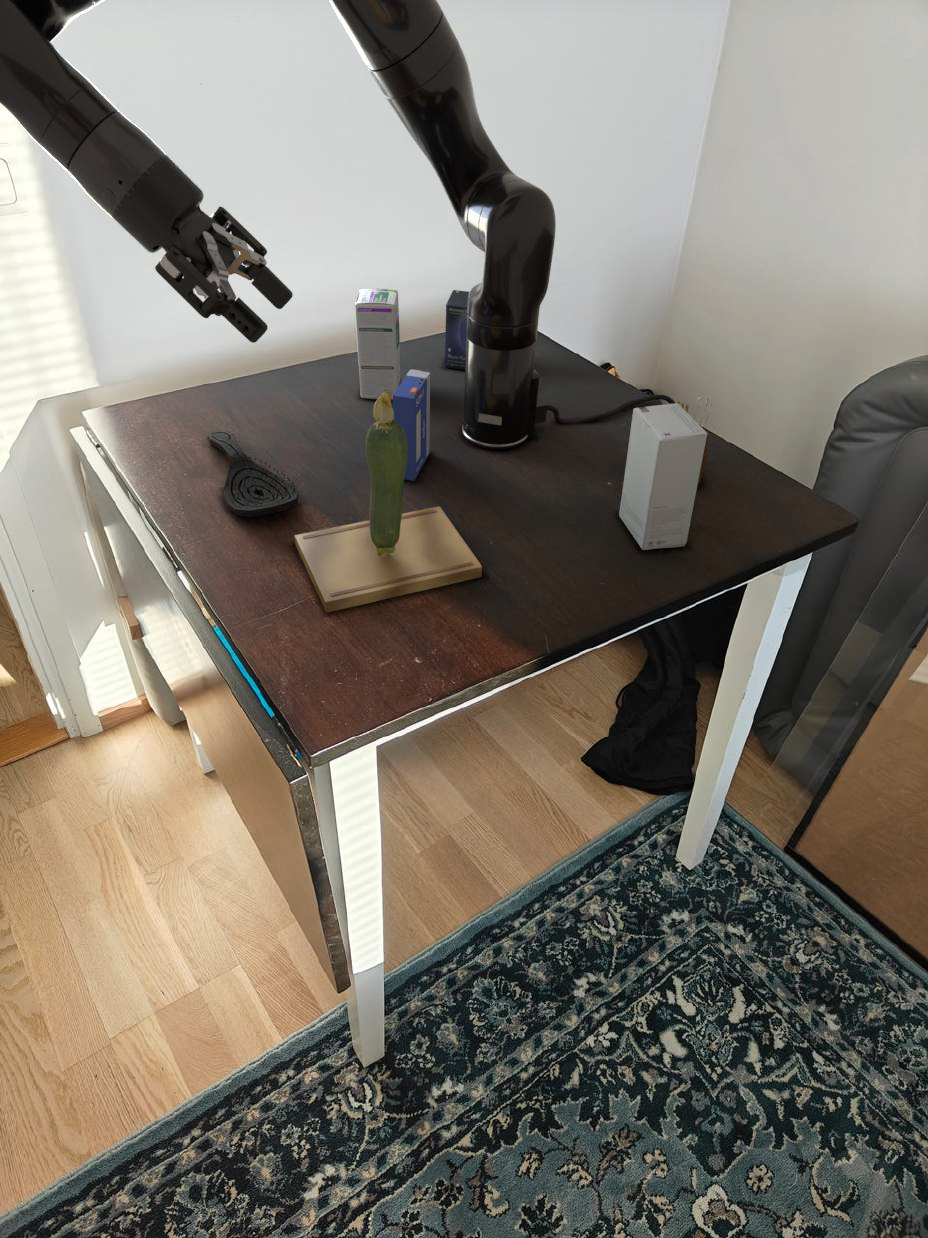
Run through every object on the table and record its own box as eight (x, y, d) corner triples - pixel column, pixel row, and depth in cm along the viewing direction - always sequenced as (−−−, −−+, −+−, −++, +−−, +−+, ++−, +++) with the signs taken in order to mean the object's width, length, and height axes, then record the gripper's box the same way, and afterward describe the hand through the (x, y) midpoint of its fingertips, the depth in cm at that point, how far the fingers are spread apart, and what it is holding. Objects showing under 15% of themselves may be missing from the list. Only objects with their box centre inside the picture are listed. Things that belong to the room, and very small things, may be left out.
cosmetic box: (686, 547, 104) (713, 435, 94) (638, 552, 102) (661, 439, 93) (658, 508, 110) (682, 399, 100) (614, 513, 109) (632, 403, 99)
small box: (442, 369, 138) (444, 303, 132) (450, 352, 143) (451, 288, 136) (508, 376, 137) (513, 310, 130) (513, 359, 142) (518, 294, 135)
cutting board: (439, 516, 107) (439, 505, 106) (481, 577, 98) (482, 565, 97) (295, 545, 101) (294, 534, 100) (326, 613, 92) (325, 601, 91)
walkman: (414, 481, 113) (414, 395, 105) (394, 478, 113) (392, 392, 105) (430, 452, 118) (431, 368, 111) (410, 449, 119) (410, 365, 111)
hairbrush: (241, 410, 120) (309, 490, 103) (245, 435, 122) (312, 517, 105) (181, 423, 116) (241, 508, 99) (187, 448, 119) (246, 535, 102)
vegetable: (370, 540, 100) (363, 376, 87) (407, 539, 100) (406, 376, 87) (370, 563, 96) (362, 396, 84) (409, 562, 97) (408, 396, 84)
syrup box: (398, 400, 130) (397, 303, 120) (359, 398, 130) (354, 301, 120) (401, 383, 134) (400, 288, 125) (362, 381, 134) (358, 287, 125)
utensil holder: (709, 478, 116) (730, 394, 108) (683, 496, 112) (703, 411, 104) (671, 461, 119) (689, 379, 111) (645, 478, 115) (662, 394, 107)
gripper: (125, 174, 71) (277, 322, 78) (188, 135, 82) (317, 268, 89) (80, 237, 75) (228, 373, 82) (146, 192, 86) (272, 315, 92)
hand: (274, 318), depth 85 cm, fingers open, 8 cm apart
